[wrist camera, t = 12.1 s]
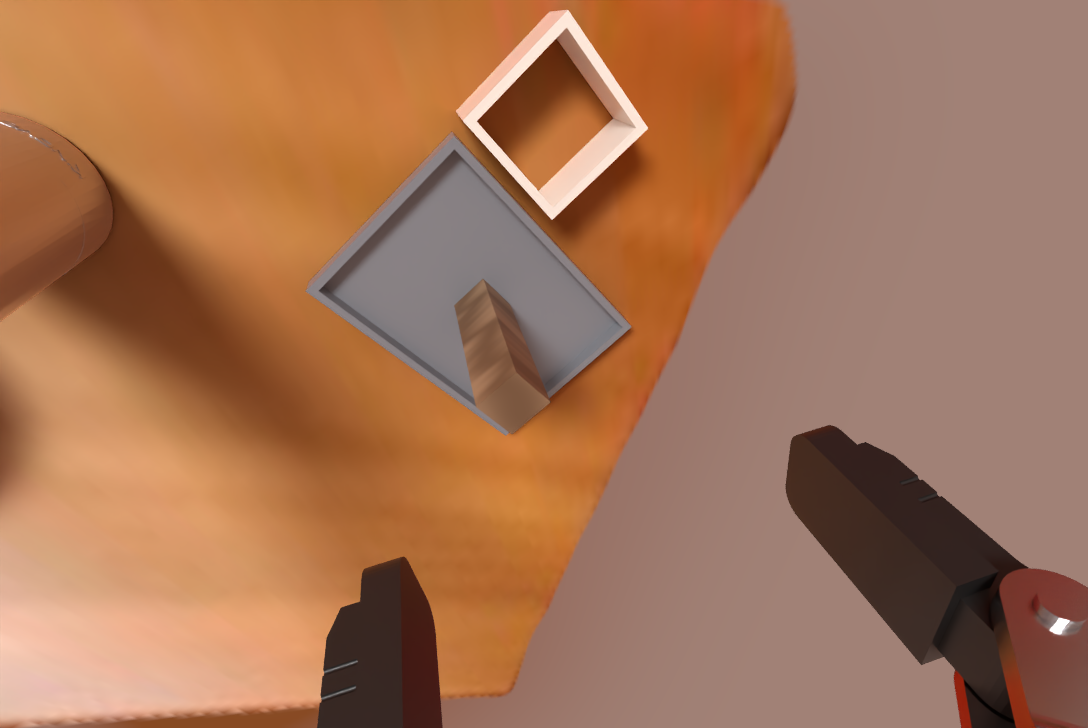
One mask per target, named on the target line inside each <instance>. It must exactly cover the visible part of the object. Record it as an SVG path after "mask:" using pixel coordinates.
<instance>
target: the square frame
mask: <svg viewBox="0 0 1088 728" xmlns="http://www.w3.org/2000/svg"><path fill="white" fill-rule="evenodd" d="M555 39H557V40H558V42H559V43H560V44H561V46H562V47H563V49H564V50H565V51H566V53H567V54H568V56H569V57H570V58H571V60H572V61H573V63H574V64H575V65H576V67H577V68H578V70H579V71H580V73H581V74H582V75H583V77H584V78H585V80H586V81H587V82H588V84H589V85H590V87H591V88H592V89H593V91H594V92H595V94H596V95H597V96H598V98H599V99H600V101H601V102H602V103H603V105H604V106H605V108H606V109H607V110H608V112H609V113H610V115H611V116H612V117H613V119H612V120H611V121H610V122H609V123H608V124H607V125H606V126H605V127H604V128H603V129H602V130H601V131H600V132H599V133H598V134H597V135H596V136H595V137H594V138H593V139H591V140H590V141H589V142H588V143H587V144H586V145H585V146H584V147H583V148H582V149H581V150H580V151H579V152H578V153H577V154H576V155H575V156H574V157H573V158H572V159H571V160H570V161H569V162H568V163H567V164H566V165H565V166H564V167H563V168H562V169H561V170H560V171H559V172H558V173H557V174H556V175H555V176H554V177H552V178H551V179H550V180H549V181H548V182H547V183H546V184H545V185H544V186H543V187H542V188H541V189H540V190H539V191H538V190H537V189H536V188H535V187H534V186H533V184H532V183H531V182H530V181H529V180H528V179H527V178H526V177H525V175H524V174H523V173H522V172H521V171H520V170H519V169H518V167H517V166H516V165H515V164H514V163H513V162H512V161H511V160H510V158H509V157H508V156H507V155H506V154H505V153H504V152H503V151H502V149H501V148H500V147H499V146H498V145H497V144H496V143H495V141H494V140H493V139H492V138H491V137H490V136H489V135H488V134H487V132H486V131H485V130H484V129H483V128H482V127H481V126H480V124H479V123H478V122H477V120H478V119H479V118H480V117H481V116H482V115H483V114H484V113H485V112H486V111H487V110H488V109H489V108H490V107H491V106H492V105H493V104H494V103H495V102H496V101H497V100H498V98H499V97H500V96H501V95H502V94H503V93H504V92H505V91H506V90H507V89H508V88H509V87H510V86H511V85H512V84H513V83H514V82H515V81H516V80H517V79H518V78H519V77H520V76H521V74H522V73H523V72H524V71H525V70H526V69H527V68H528V67H529V66H530V65H531V64H532V63H533V62H534V61H535V60H536V59H537V58H538V57H539V56H540V55H541V54H542V53H543V52H544V50H545V49H546V48H547V47H548V46H549V45H550V44H551V43H552V42H553V41H554V40H555ZM456 112H457V114H458V115H459V116H460V118H461V119H462V120H463V122H464V123H465V124H466V125H467V126H468V127H469V128H470V129H471V131H472V132H473V133H474V134H475V135H476V136H477V137H478V138H479V139H480V141H481V142H482V143H483V144H484V145H485V146H486V147H487V148H488V149H489V151H490V152H491V153H492V154H493V155H494V156H495V157H496V158H497V159H498V161H499V162H500V163H501V164H502V165H503V166H504V167H505V168H506V169H507V171H508V172H509V173H510V174H511V175H512V176H513V177H514V178H515V179H516V181H517V182H518V183H519V184H520V185H521V186H522V187H523V188H524V189H525V191H526V192H527V193H528V194H529V195H530V196H531V197H532V198H533V199H534V201H535V202H536V203H537V204H538V205H539V206H540V207H541V208H542V209H543V211H544V212H545V213H546V214H547V215H548V216H549V217H550V218H551V219H552V220H553V219H554V218H555V217H556V216H557V215H558V214H559V213H560V212H561V211H562V210H563V209H564V208H565V207H566V206H567V205H568V204H569V203H570V202H572V201H573V200H574V199H575V198H576V197H577V196H578V195H579V194H580V193H581V192H582V191H583V190H584V189H585V188H586V187H587V186H588V185H589V184H590V183H591V182H593V181H594V180H595V179H596V178H597V177H598V176H599V175H600V174H601V173H602V172H603V171H604V170H605V169H606V168H607V167H608V166H609V165H610V164H611V163H612V162H614V161H615V160H616V159H617V158H618V157H619V156H620V155H621V154H622V153H623V152H624V151H625V150H626V149H627V148H628V147H629V146H630V145H631V144H632V143H633V142H635V141H636V140H637V139H638V138H639V137H640V136H641V135H642V134H643V133H644V132H645V131H646V130H647V129H648V127H647V126H646V124H645V123H644V121H643V120H642V119H641V117H640V116H639V114H638V113H637V111H636V110H635V108H634V107H633V105H632V104H631V102H630V101H629V99H628V98H627V96H626V95H625V93H624V92H623V90H622V89H621V88H620V86H619V85H618V83H617V82H616V80H615V79H614V77H613V76H612V74H611V73H610V71H609V70H608V68H607V67H606V65H605V64H604V62H603V61H602V59H601V58H600V56H599V55H598V54H597V52H596V51H595V49H594V48H593V46H592V45H591V43H590V42H589V40H588V39H587V37H586V36H585V34H584V33H583V31H582V30H581V28H580V27H579V25H578V24H577V23H576V21H575V20H574V18H573V17H572V15H571V14H570V12H569V11H568V10H563V11H553V12H549V13H548V14H547V15H546V16H545V17H544V18H543V19H542V20H541V21H540V22H539V23H538V24H537V26H536V27H535V28H534V29H533V30H532V31H531V32H530V33H529V34H528V35H527V36H526V37H525V38H524V39H523V40H522V41H521V42H520V44H519V45H518V46H517V47H516V48H515V49H514V50H513V51H512V52H511V53H510V54H509V55H508V56H507V57H506V58H505V59H504V61H503V62H502V63H501V64H500V65H499V66H498V67H497V68H496V69H495V70H494V71H493V72H492V73H491V74H490V75H489V76H488V78H487V79H486V80H485V81H484V82H483V83H482V84H481V85H480V86H479V87H478V88H477V89H476V90H475V91H474V92H473V93H472V94H471V96H470V97H469V98H468V99H467V100H466V101H465V102H464V103H463V104H462V105H461V106H460V107H459V108H458V109H457V110H456Z"/></svg>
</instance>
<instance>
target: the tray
mask: <svg viewBox="0 0 1088 728" xmlns="http://www.w3.org/2000/svg"><path fill="white" fill-rule="evenodd" d="M482 279H484V280H485V281H486V282H487V283H488V284H489V285H490V286H491V287H493V288H494V289H495V290H496V291H497V292H498V293H499V294H500V295H501V296H502V297H503V298H504V299H505V300H506V301H507V302H508V303H509V304H510V306H511V308H512V310H513V313H514V315H515V318H516V320H517V322H518V325H519V327H520V330H521V332H522V334H523V337H524V339H525V342H526V344H527V346H528V349H529V351H530V354H531V356H532V358H533V361H534V363H535V366H536V368H537V370H538V373H539V375H540V378H541V380H542V382H543V385H544V387H545V390H546V392H547V394H548V397H549V398H550V397H551V396H552V395H554V394H555V393H556V392H557V391H558V390H559V389H561V388H562V387H563V386H564V385H565V384H566V383H567V382H569V381H570V380H571V379H572V378H573V377H574V376H576V375H577V374H578V373H579V372H580V371H581V370H583V369H584V368H585V367H586V366H587V365H588V364H589V363H591V362H592V361H593V360H594V359H595V358H596V357H598V356H599V355H600V354H601V353H602V352H603V351H605V350H606V349H607V348H608V347H609V346H610V345H612V344H613V343H614V342H615V341H616V340H617V339H618V338H620V337H621V336H622V335H623V334H624V333H625V332H627V331H628V330H629V329H630V328H631V325H630V324H629V323H628V322H627V320H626V319H625V318H624V317H623V316H622V315H621V314H620V312H619V311H618V310H617V309H616V308H615V307H614V306H613V305H612V304H611V303H610V302H609V301H608V300H607V298H606V297H605V296H604V295H603V294H602V293H601V292H600V291H599V290H598V289H597V288H596V287H595V285H594V284H593V283H592V282H591V281H590V280H589V279H588V278H587V277H586V276H585V275H584V274H583V273H582V271H581V270H580V269H579V268H578V267H577V266H576V265H575V264H574V263H573V262H572V261H571V260H570V258H569V257H568V256H567V255H566V254H565V253H564V252H563V251H562V250H561V249H560V248H559V247H558V245H557V244H556V243H555V242H554V241H553V240H552V239H551V238H550V237H549V236H548V235H547V234H546V233H545V231H544V230H543V229H542V228H541V227H540V226H539V225H538V224H537V223H536V222H535V221H534V220H533V218H532V217H531V216H530V215H529V214H528V213H527V212H526V211H525V210H524V209H523V208H522V207H521V205H520V204H519V203H518V202H517V201H516V200H515V199H514V198H513V197H512V196H511V195H510V194H509V193H508V191H507V190H506V189H505V188H504V187H503V186H502V185H501V184H500V183H499V182H498V181H497V180H496V178H495V177H494V176H493V175H492V174H491V173H490V172H489V171H488V170H487V169H486V168H485V167H484V166H483V164H482V163H481V162H480V161H479V160H478V159H477V158H476V157H475V156H474V155H473V154H472V153H471V151H470V150H469V149H468V148H467V147H466V146H465V145H464V144H463V143H462V142H461V141H460V140H459V138H458V137H457V136H456V135H455V134H454V133H453V132H451V133H450V134H449V135H448V136H447V137H446V138H445V139H444V140H443V141H442V142H441V143H440V144H439V145H438V146H437V148H436V149H435V150H434V151H433V152H432V153H431V154H430V155H429V156H428V157H427V158H426V159H425V160H424V161H423V162H422V163H421V164H420V165H419V166H418V168H417V169H416V170H415V171H414V172H413V173H412V174H411V175H410V176H409V177H408V178H407V179H406V180H405V181H404V182H403V183H402V184H401V185H400V186H399V188H398V189H397V190H396V191H395V192H394V193H393V194H392V195H391V196H390V197H389V198H388V199H387V200H386V201H385V202H384V203H383V204H382V205H381V206H380V208H379V209H378V210H377V211H376V212H375V213H374V214H373V215H372V216H371V217H370V218H369V219H368V220H367V221H366V222H365V223H364V224H363V225H362V226H361V227H360V229H359V230H358V231H357V232H356V233H355V234H354V235H353V236H352V237H351V238H350V239H349V240H348V241H347V242H346V243H345V244H344V245H343V246H342V247H341V249H340V250H339V251H338V252H337V253H336V254H335V255H334V256H333V257H332V258H331V259H330V260H329V261H328V262H327V263H326V264H325V265H324V266H323V267H322V269H321V270H320V271H319V272H318V273H317V274H316V275H315V276H314V277H313V278H312V279H311V280H310V281H309V283H308V286H307V289H306V292H307V293H309V294H310V295H312V296H313V297H314V298H316V299H317V300H318V301H320V302H321V303H323V304H324V305H325V306H327V307H328V308H330V309H331V310H332V311H334V312H335V313H336V314H338V315H339V316H341V317H342V318H343V319H345V320H346V321H348V322H349V323H350V324H352V325H353V326H355V327H356V328H357V329H359V330H360V331H361V332H363V333H364V334H366V335H367V336H368V337H370V338H371V339H373V340H374V341H375V342H377V343H378V344H379V345H381V346H382V347H384V348H385V349H386V350H388V351H389V352H391V353H392V354H393V355H395V356H396V357H397V358H399V359H400V360H402V361H403V362H404V363H406V364H407V365H409V366H410V367H411V368H413V369H414V370H416V371H417V372H418V373H420V374H421V375H422V376H424V377H425V378H427V379H428V380H429V381H431V382H432V383H434V384H435V385H436V386H438V387H439V388H440V389H442V390H443V391H445V392H446V393H447V394H449V395H450V396H452V397H453V398H454V399H456V400H457V401H458V402H460V403H461V404H463V405H464V406H465V407H467V408H468V409H470V410H471V411H472V412H474V413H475V414H476V415H478V416H479V417H481V418H482V419H483V420H485V421H486V422H488V423H489V424H490V425H492V426H493V427H495V428H496V429H497V430H499V431H500V432H501V433H503V434H504V435H507V434H508V433H509V432H508V431H507V430H505V429H504V428H503V427H501V426H500V425H499V424H497V423H496V422H495V421H494V420H492V419H491V418H490V417H488V416H487V415H486V414H484V413H483V412H482V411H480V410H479V409H478V408H476V405H475V400H474V395H473V391H472V386H471V381H470V377H469V372H468V367H467V363H466V358H465V353H464V349H463V344H462V339H461V335H460V330H459V325H458V321H457V316H456V311H455V307H454V305H455V304H456V303H457V302H458V301H459V300H460V299H461V298H463V297H464V296H465V295H466V294H467V293H468V292H469V291H470V290H471V289H472V288H473V287H474V286H476V285H477V284H478V283H479V282H480V281H481V280H482Z"/></svg>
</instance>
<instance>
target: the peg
mask: <svg viewBox="0 0 1088 728" xmlns="http://www.w3.org/2000/svg"><path fill="white" fill-rule="evenodd" d="M454 307H455V311H456V316H457V321H458V325H459V330H460V335H461V339H462V344H463V349H464V353H465V358H466V363H467V367H468V372H469V377H470V381H471V386H472V391H473V395H474V400H475V405H476V408H478V409H479V410H480V411H482V412H483V413H484V414H486V415H487V416H488V417H490V418H491V419H492V420H494V421H495V422H496V423H497V424H499V425H500V426H501V427H503V428H504V429H505V430H507V431H508V432H509V433H511V434H513V433H514V432H516V431H517V430H518V429H519V428H520V427H522V426H523V425H524V424H525V423H526V422H528V421H529V420H530V419H531V418H532V417H534V416H535V415H536V414H537V413H538V412H540V411H541V410H542V409H543V408H544V407H546V406H547V405H548V404H549V403H550V399H549V397H548V394H547V392H546V390H545V387H544V385H543V382H542V380H541V378H540V375H539V373H538V370H537V368H536V366H535V363H534V361H533V358H532V356H531V354H530V351H529V349H528V346H527V344H526V342H525V339H524V337H523V334H522V332H521V330H520V327H519V325H518V322H517V320H516V318H515V315H514V313H513V310H512V308H511V306H510V304H509V303H508V302H507V301H506V300H505V299H504V298H503V297H502V296H501V295H500V294H499V293H498V292H497V291H496V290H495V289H494V288H493V287H491V286H490V285H489V284H488V283H487V282H486V281H485V280H484V279H482V280H481V281H480V282H479V283H478V284H477V285H476V286H474V287H473V288H472V289H471V290H470V291H469V292H468V293H467V294H466V295H465V296H464V297H463V298H461V299H460V300H459V301H458V302H457V303H456V304H455V305H454Z"/></svg>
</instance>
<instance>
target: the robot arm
mask: <svg viewBox="0 0 1088 728" xmlns="http://www.w3.org/2000/svg"><path fill="white" fill-rule="evenodd" d="M112 221H113V208H112V201H111V197H110V194H109V192H108V189H107V187H106V184H105V182H104V180H103V179H102V177H101V176H100V174H99V173H98V171H97V170H96V168H95V167H94V165H93V164H92V163H91V162H90V161H89V160H88V159H87V158H86V157H85V155H84V154H83V153H82V152H81V151H80V150H78V149H77V148H76V147H75V146H73V145H72V144H71V143H70V142H69V141H67V140H66V139H65V138H63V137H62V136H60V135H58V134H57V133H55V132H53V131H52V130H50V129H49V128H47V127H45V126H43V125H40V124H38V123H36V122H33V121H31V120H29V119H26V118H24V117H20V116H16V115H12V114H8V113H4V112H0V322H1V321H2V320H3V319H5V318H6V317H7V316H9V315H10V314H11V313H13V312H14V311H15V310H17V309H18V308H19V307H21V306H22V305H24V304H25V303H26V302H28V301H29V300H30V299H32V298H33V297H34V296H36V295H37V294H38V293H40V292H41V291H42V290H44V289H45V288H46V287H48V286H49V285H50V284H52V283H53V282H54V281H56V280H57V279H58V278H60V277H61V276H63V275H64V274H66V273H67V272H68V271H70V270H71V269H72V268H74V267H75V266H76V265H78V264H79V263H80V262H82V261H83V260H84V259H86V258H87V257H88V256H90V255H91V254H92V253H94V252H95V251H96V250H98V249H99V248H100V246H101V245H102V244H103V243H104V242H105V240H106V239H107V237H108V235H109V232H110V230H111V228H112ZM786 493H787V497H788V500H789V503H790V505H791V507H792V509H793V511H794V512H795V514H796V515H797V516H798V518H799V519H800V520H801V521H802V522H803V524H804V525H805V526H806V527H807V528H808V529H809V531H810V532H811V533H812V534H813V536H814V537H815V538H816V539H817V540H818V542H819V543H820V544H821V545H822V546H823V548H824V549H825V550H826V551H827V552H828V554H829V555H830V556H831V557H832V558H833V560H834V561H835V562H836V563H837V564H838V566H839V567H840V568H841V569H842V570H843V572H844V573H845V574H846V575H847V576H848V578H849V579H850V580H851V581H852V582H853V584H854V585H855V586H856V587H857V588H858V590H859V591H860V592H861V593H862V594H863V596H864V597H865V598H866V599H867V600H868V602H869V603H870V604H871V605H872V606H873V607H874V609H875V610H876V611H877V612H878V614H879V615H880V616H881V617H882V618H883V620H884V621H885V622H886V623H887V624H888V626H889V627H890V628H891V629H892V630H893V632H894V633H895V634H896V635H897V636H898V638H899V639H900V640H901V641H902V642H903V643H904V645H905V646H906V647H907V648H908V650H909V651H910V652H911V653H912V654H913V656H914V657H915V658H916V659H917V660H918V662H919V663H920V664H921V665H923V664H925V663H928V662H931V661H933V660H936V659H939V658H942V657H945V658H946V659H947V661H948V662H949V663H950V664H951V665H952V666H953V667H954V669H955V672H954V685H955V692H956V698H957V704H958V710H959V717H960V723H961V728H1088V587H1086V586H1084V585H1083V584H1081V583H1079V582H1077V581H1075V580H1073V579H1071V578H1069V577H1066V576H1064V575H1061V574H1058V573H1055V572H1051V571H1048V570H1042V569H1031V568H1028V567H1027V566H1025V565H1023V564H1022V563H1020V562H1019V561H1018V560H1016V559H1015V558H1014V557H1013V556H1012V555H1010V554H1009V553H1008V552H1007V551H1006V550H1005V549H1003V548H1002V547H1001V546H1000V545H998V544H997V543H996V542H995V541H994V540H993V539H992V538H990V537H989V536H988V535H987V534H986V533H985V532H983V531H982V530H981V529H980V528H978V527H977V526H976V525H975V524H974V523H973V522H972V521H970V520H969V519H968V518H967V517H966V516H965V515H963V514H962V513H961V512H960V511H959V510H957V509H956V508H955V507H954V506H952V504H950V503H949V502H948V501H947V500H946V499H945V498H943V497H942V496H941V497H939V496H938V495H937V492H936V491H935V490H934V489H933V488H931V487H930V486H929V485H928V484H927V483H926V482H924V481H923V480H919V479H918V476H917V475H916V474H915V473H914V472H912V470H910V469H909V468H908V467H907V466H905V465H904V464H903V463H902V462H901V461H900V460H898V459H897V458H896V457H895V456H893V455H891V454H889V453H887V452H885V451H882V450H881V449H879V448H877V447H874V446H872V445H870V444H868V443H866V442H865V443H861V444H858V445H857V444H856V443H855V442H853V441H852V440H851V439H850V438H849V437H848V436H847V435H846V434H844V433H843V432H842V431H841V430H840V429H838V428H837V427H835V426H831V425H828V426H825V427H821V428H818V429H815V430H812V431H808V432H805V433H802V434H799V435H796V436H794V437H793V438H792V440H791V446H790V454H789V462H788V470H787V478H786ZM323 670H324V676H323V678H322V687H321V699H322V701H321V703H320V706H319V716H318V726H317V728H442V714H441V700H440V687H439V673H438V660H437V646H436V633H435V625H434V620H433V615H432V611H431V608H430V605H429V602H428V600H427V598H426V596H425V594H424V592H423V590H422V588H421V586H420V584H419V582H418V580H417V578H416V576H415V574H414V572H413V570H412V568H411V566H410V564H409V562H408V561H407V559H406V558H405V557H400V558H397V559H394V560H391V561H388V562H384V563H381V564H378V565H375V566H372V567H368V568H366V569H364V571H363V573H362V580H361V598H360V602H357V603H354V604H351V605H348V606H345V607H342V608H341V609H340V611H339V613H338V615H337V617H336V619H335V622H334V624H333V626H332V628H331V630H330V632H329V634H328V637H327V640H326V649H325V659H324V668H323Z"/></svg>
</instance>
